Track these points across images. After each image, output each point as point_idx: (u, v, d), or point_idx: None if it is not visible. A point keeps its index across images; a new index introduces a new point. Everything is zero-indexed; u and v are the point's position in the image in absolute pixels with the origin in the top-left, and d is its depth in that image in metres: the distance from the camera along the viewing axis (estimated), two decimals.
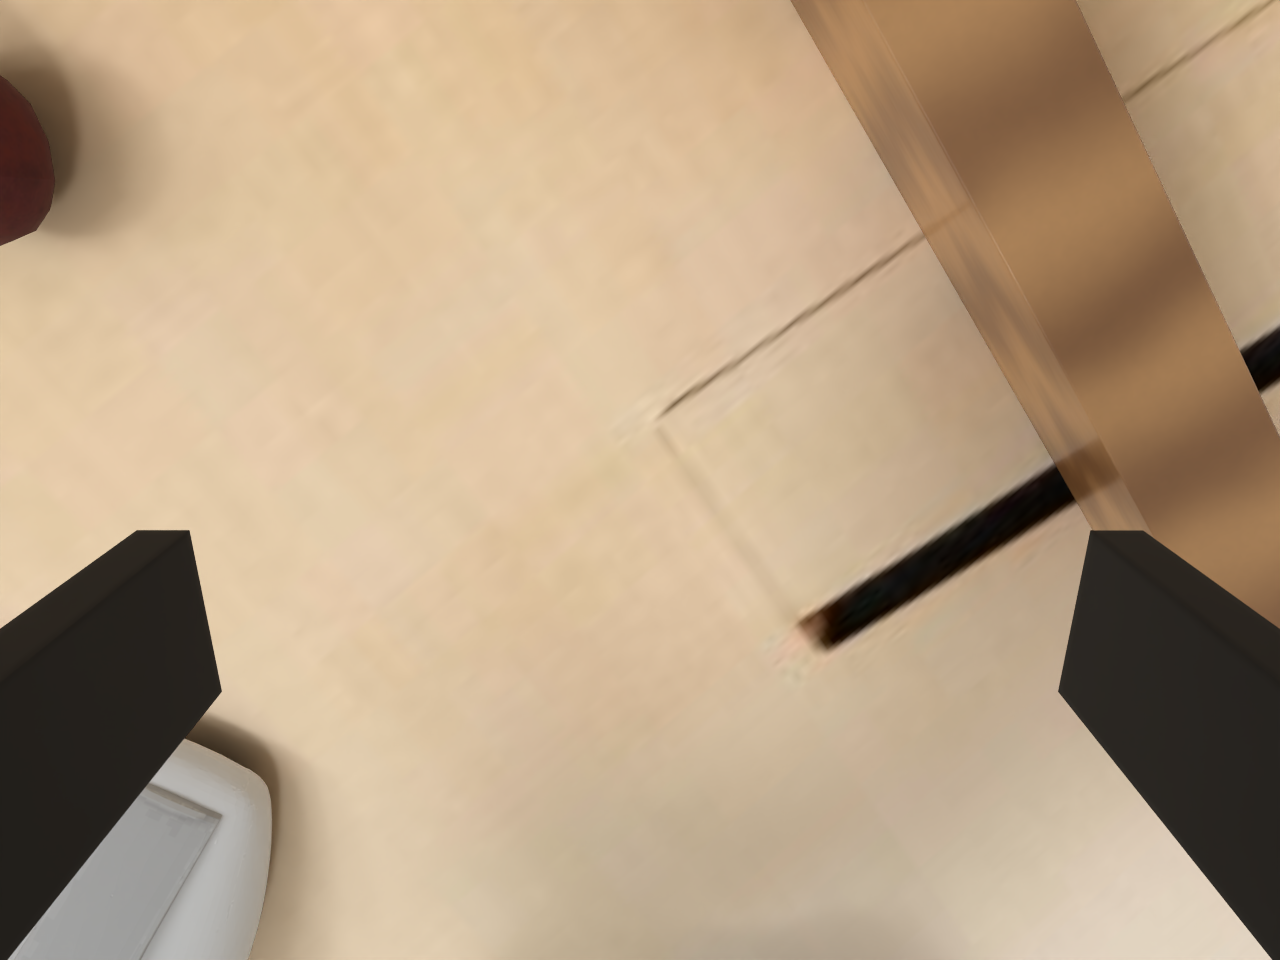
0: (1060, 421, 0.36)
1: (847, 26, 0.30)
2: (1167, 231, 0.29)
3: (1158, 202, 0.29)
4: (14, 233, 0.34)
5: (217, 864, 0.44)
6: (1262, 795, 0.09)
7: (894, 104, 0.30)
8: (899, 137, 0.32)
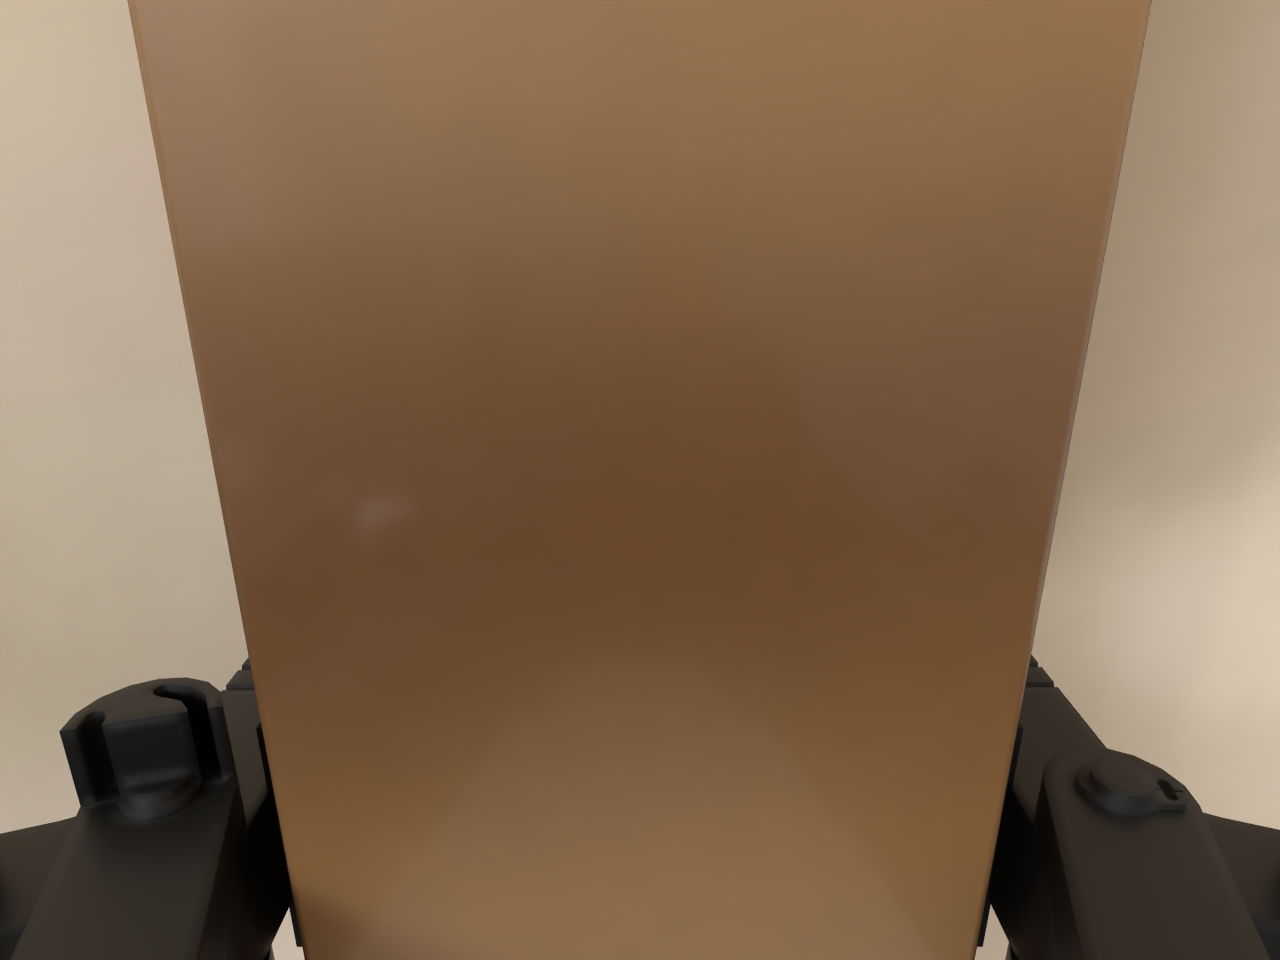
0: None
1: None
2: None
3: None
4: None
5: None
6: None
7: None
8: None
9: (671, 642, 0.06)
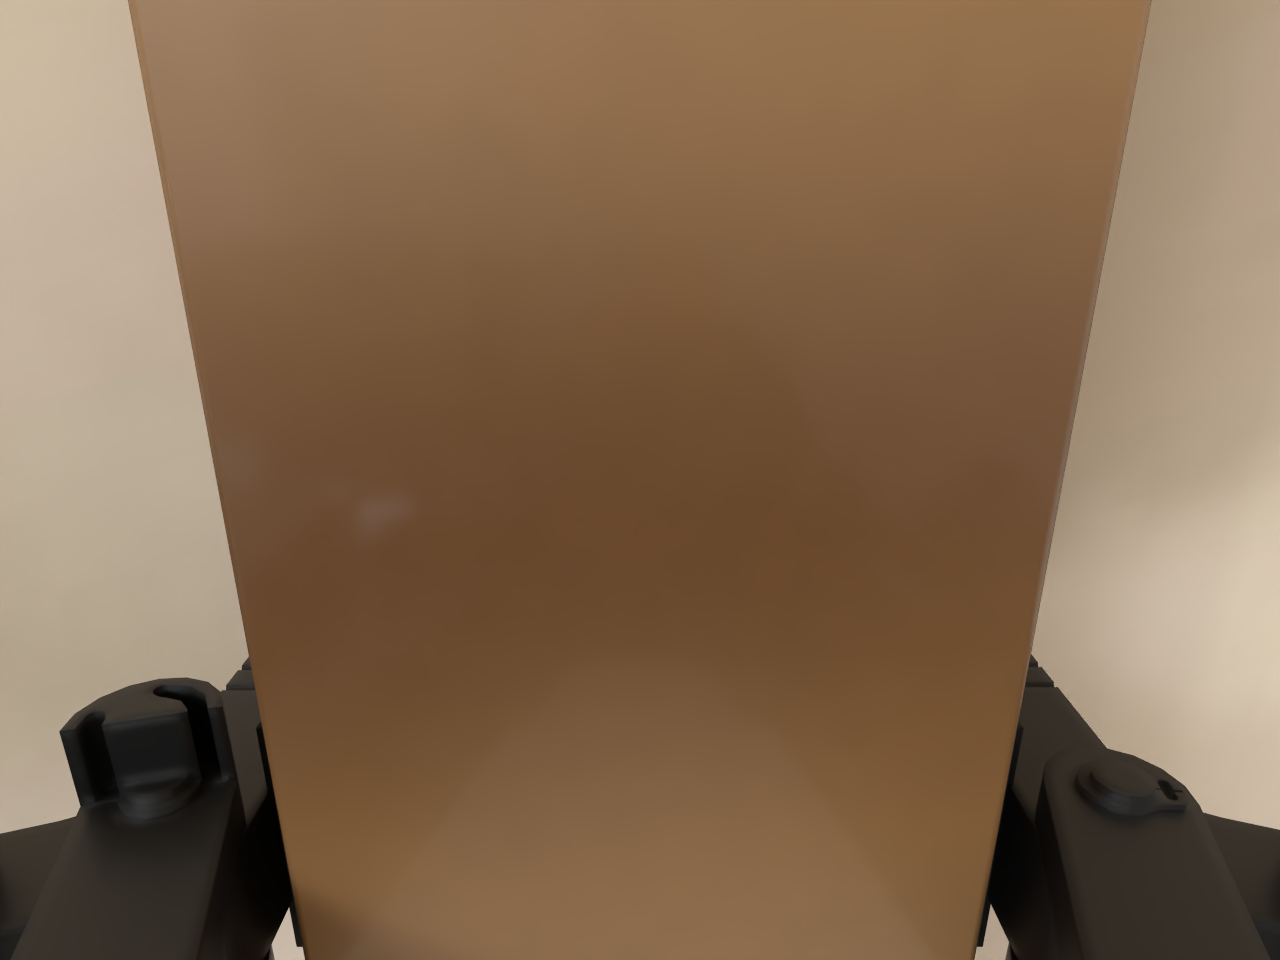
0: None
1: None
2: None
3: None
4: None
5: None
6: None
7: None
8: None
9: (671, 643, 0.06)
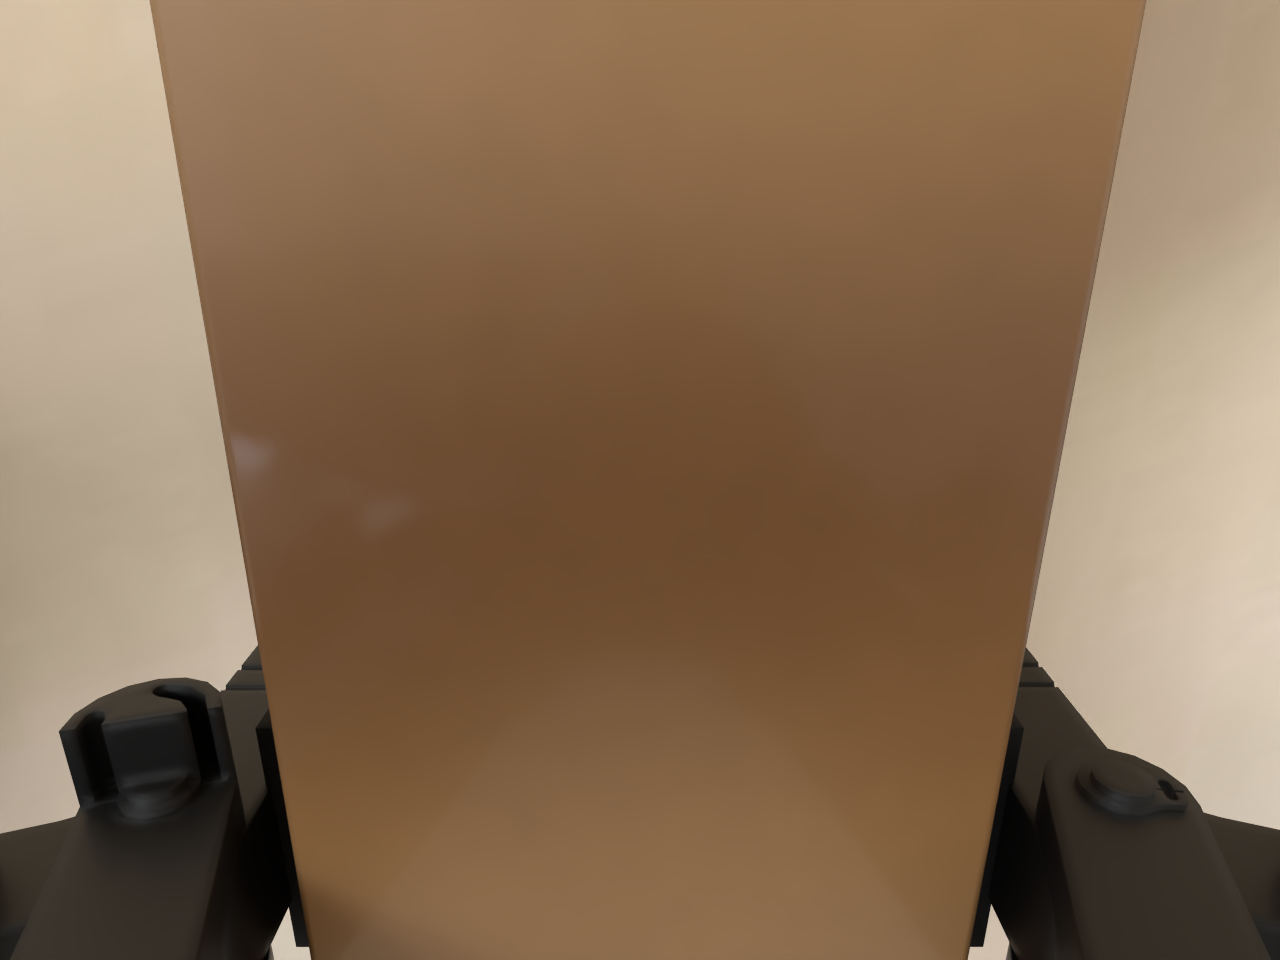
0: None
1: None
2: None
3: None
4: None
5: None
6: None
7: None
8: None
9: (673, 630, 0.06)
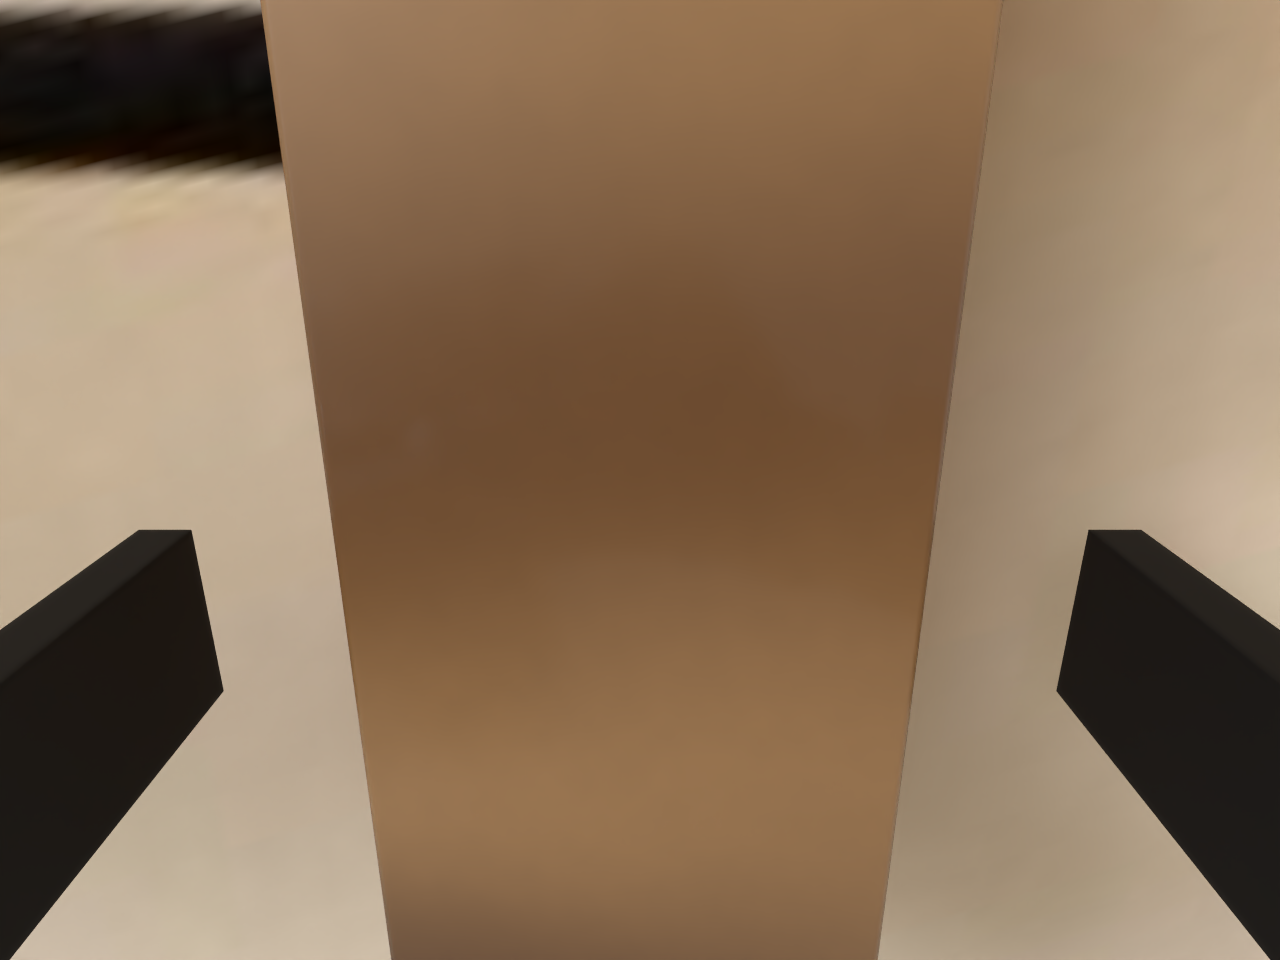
0: None
1: None
2: None
3: None
4: None
5: None
6: (1259, 795, 0.09)
7: None
8: None
9: (657, 499, 0.08)
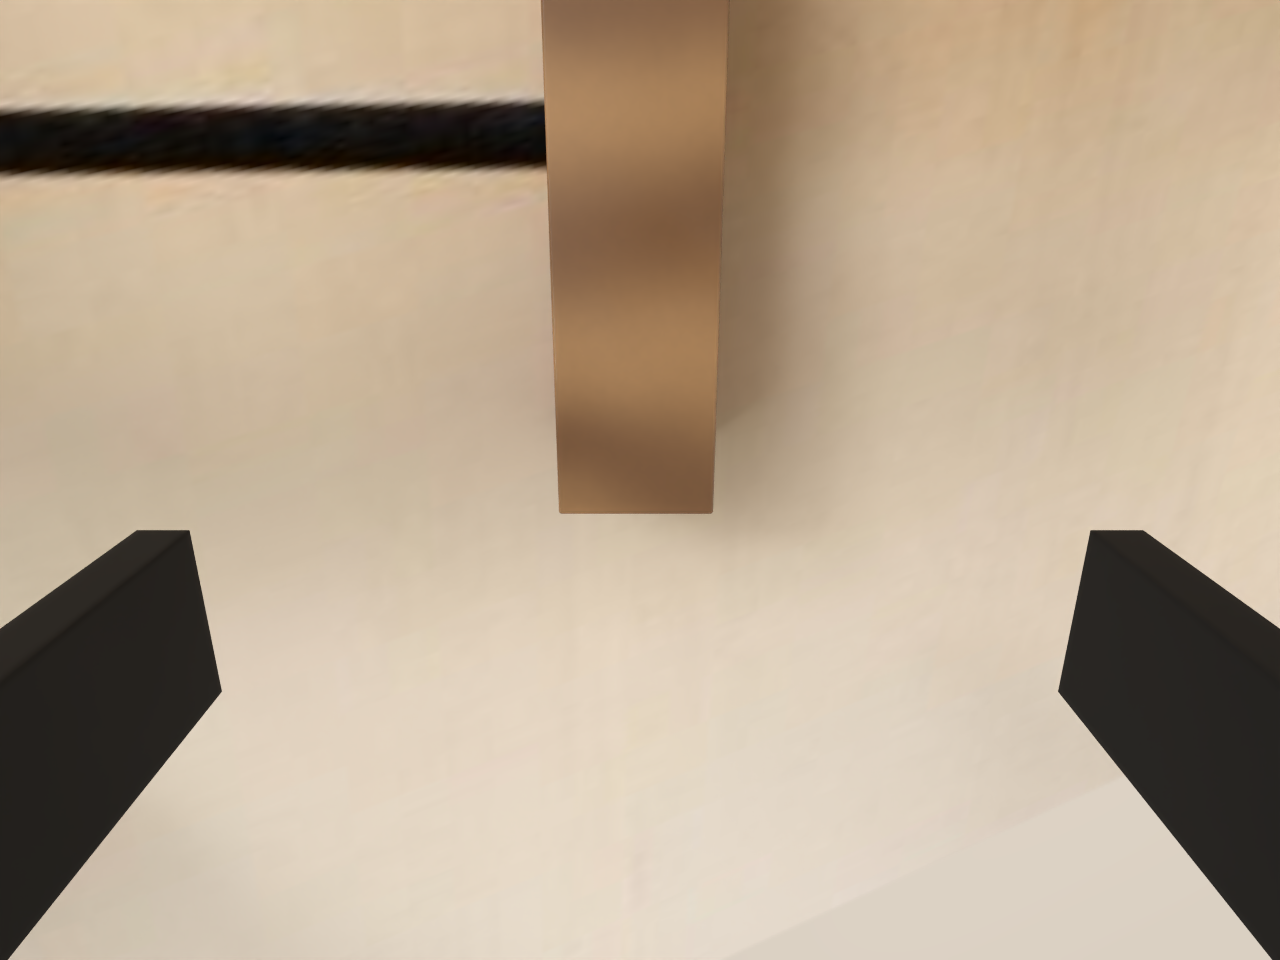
0: None
1: None
2: None
3: None
4: None
5: None
6: (1262, 795, 0.09)
7: None
8: None
9: (642, 260, 0.28)
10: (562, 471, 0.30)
